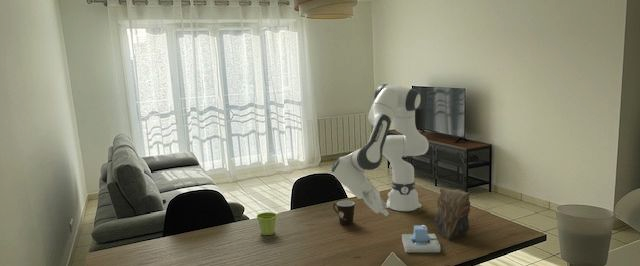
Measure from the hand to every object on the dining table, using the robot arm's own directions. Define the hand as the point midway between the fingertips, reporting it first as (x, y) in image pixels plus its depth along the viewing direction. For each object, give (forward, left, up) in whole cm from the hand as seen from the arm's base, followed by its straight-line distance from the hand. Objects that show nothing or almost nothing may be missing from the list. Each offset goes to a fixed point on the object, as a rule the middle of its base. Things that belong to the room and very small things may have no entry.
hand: (386, 210), depth 187 cm
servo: (+3, +14, -15) cm, 20 cm away
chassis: (+3, +14, -15) cm, 21 cm away
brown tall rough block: (-9, +29, -15) cm, 34 cm away
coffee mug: (-26, -18, -15) cm, 35 cm away
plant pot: (-13, -54, -15) cm, 58 cm away
